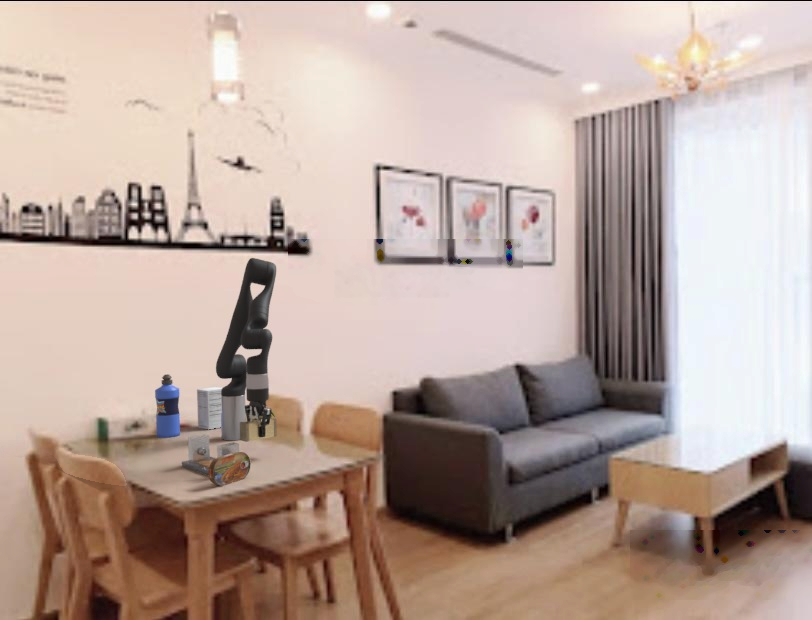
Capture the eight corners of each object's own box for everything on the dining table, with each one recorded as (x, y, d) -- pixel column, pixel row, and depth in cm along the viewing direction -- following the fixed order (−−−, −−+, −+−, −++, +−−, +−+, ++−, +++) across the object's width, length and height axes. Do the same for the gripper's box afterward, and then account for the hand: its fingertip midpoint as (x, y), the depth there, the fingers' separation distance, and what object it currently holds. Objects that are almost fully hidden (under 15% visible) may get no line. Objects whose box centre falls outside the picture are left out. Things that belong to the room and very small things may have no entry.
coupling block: (246, 441, 225) (246, 423, 225) (240, 440, 228) (239, 422, 228) (276, 436, 234) (276, 418, 234) (270, 434, 237) (269, 417, 237)
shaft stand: (181, 465, 223) (180, 437, 223) (208, 460, 230) (208, 432, 230) (219, 479, 205) (218, 448, 205) (247, 473, 212) (247, 443, 212)
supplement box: (228, 426, 290) (227, 388, 290) (208, 430, 283) (207, 390, 283) (216, 424, 297) (215, 386, 296) (197, 427, 290) (196, 388, 289)
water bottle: (171, 432, 280) (169, 372, 280) (185, 434, 275) (183, 374, 274) (151, 436, 273) (149, 375, 272) (165, 438, 267) (163, 376, 267)
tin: (214, 488, 196) (213, 460, 196) (206, 487, 197) (206, 459, 197) (251, 476, 208) (251, 449, 208) (244, 475, 210) (243, 448, 210)
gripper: (278, 387, 228) (279, 437, 229) (255, 383, 238) (256, 431, 239) (259, 389, 223) (260, 440, 223) (237, 385, 233) (238, 434, 233)
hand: (258, 435), depth 231 cm, fingers closed on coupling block, 4 cm apart
